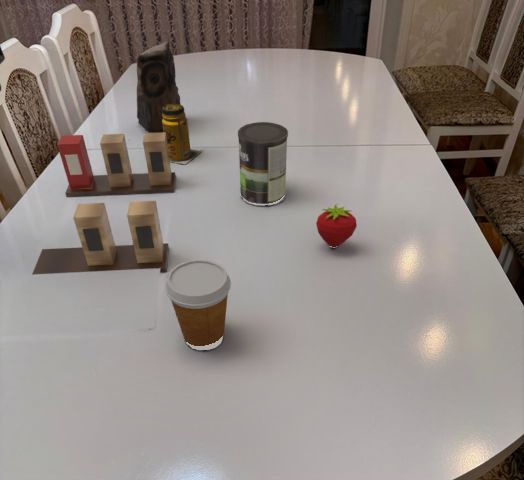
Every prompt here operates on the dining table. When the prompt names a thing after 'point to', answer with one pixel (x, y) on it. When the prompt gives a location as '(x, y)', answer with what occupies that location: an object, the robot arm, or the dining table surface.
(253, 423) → the dining table surface
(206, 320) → the disposable coffee cup
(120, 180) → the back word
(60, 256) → the front word
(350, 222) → the strawberry
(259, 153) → the coffee can
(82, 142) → the red labeled block
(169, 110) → the condiment
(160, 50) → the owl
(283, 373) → the dining table surface
